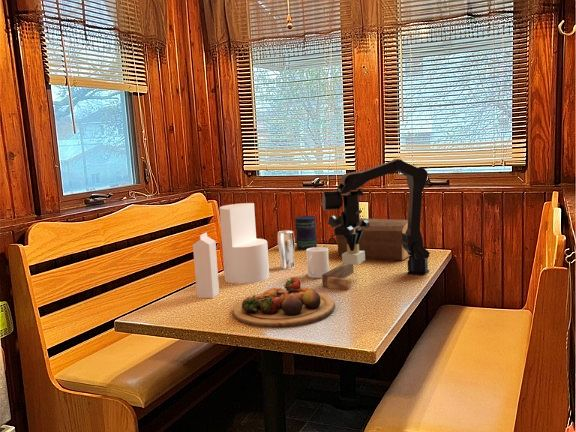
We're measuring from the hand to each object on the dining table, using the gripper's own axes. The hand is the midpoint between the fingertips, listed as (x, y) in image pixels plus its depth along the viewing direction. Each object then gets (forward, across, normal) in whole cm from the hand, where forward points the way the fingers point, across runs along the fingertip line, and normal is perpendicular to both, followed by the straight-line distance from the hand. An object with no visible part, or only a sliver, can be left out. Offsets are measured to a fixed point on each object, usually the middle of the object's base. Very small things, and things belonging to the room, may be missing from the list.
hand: (353, 250), depth 207 cm
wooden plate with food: (+11, +41, -5) cm, 43 cm away
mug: (+11, +2, -15) cm, 19 cm away
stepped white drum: (+11, +12, -40) cm, 43 cm away
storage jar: (+11, -43, -44) cm, 62 cm away
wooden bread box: (+11, -39, -8) cm, 42 cm away
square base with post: (+4, 0, 0) cm, 4 cm away
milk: (+11, +37, -39) cm, 55 cm away
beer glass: (+11, -7, -33) cm, 35 cm away
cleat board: (+11, +3, -1) cm, 11 cm away
